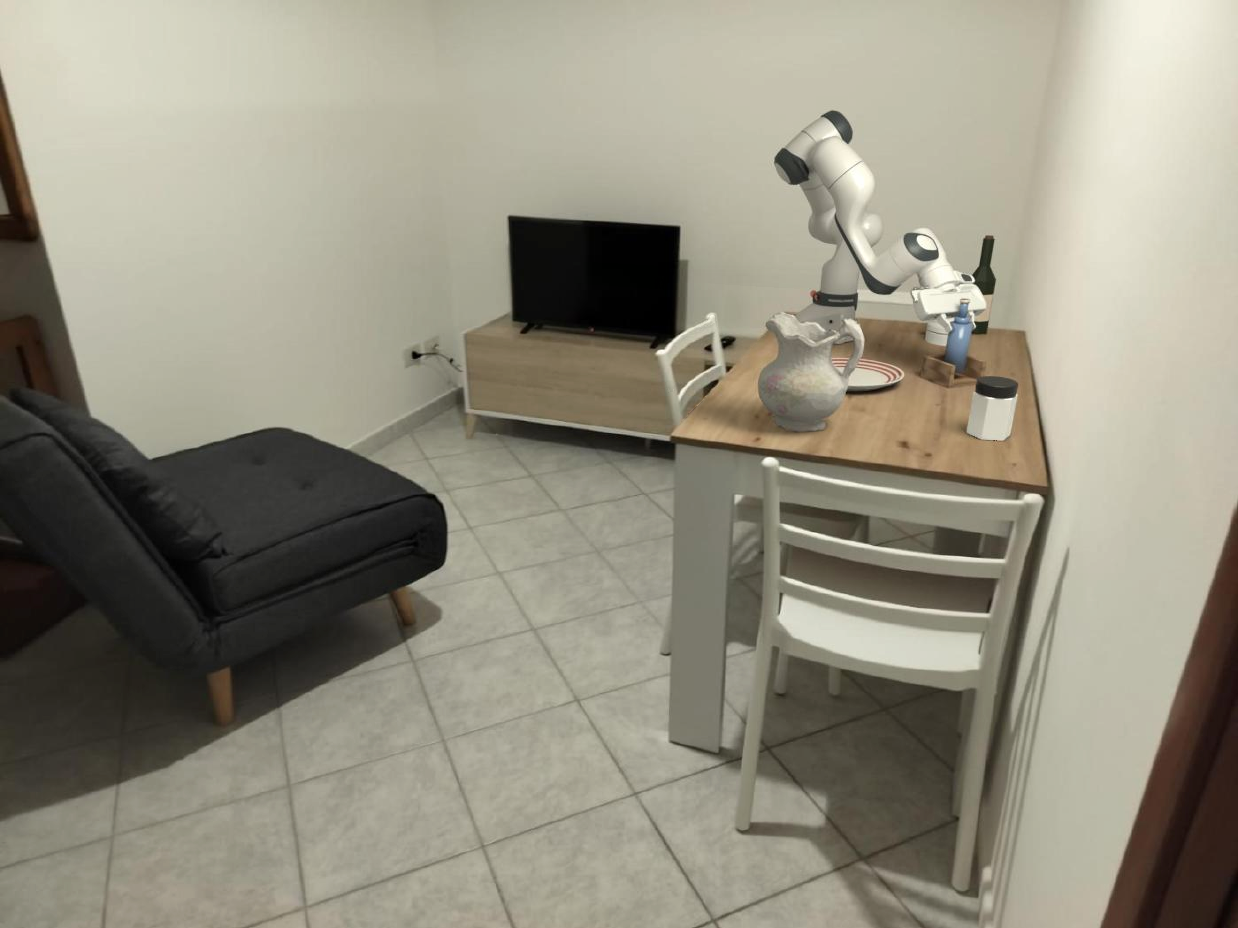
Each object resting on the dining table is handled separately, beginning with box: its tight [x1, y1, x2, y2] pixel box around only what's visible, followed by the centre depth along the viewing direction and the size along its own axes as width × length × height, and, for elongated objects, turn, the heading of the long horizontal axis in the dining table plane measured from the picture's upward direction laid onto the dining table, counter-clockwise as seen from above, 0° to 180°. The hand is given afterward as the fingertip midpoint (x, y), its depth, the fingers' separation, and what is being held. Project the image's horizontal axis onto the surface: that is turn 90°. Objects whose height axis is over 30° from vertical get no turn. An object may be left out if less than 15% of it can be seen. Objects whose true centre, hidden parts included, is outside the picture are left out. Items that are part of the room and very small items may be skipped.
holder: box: [920, 353, 987, 389], centre depth 217 cm, size 10×11×6 cm
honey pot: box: [924, 318, 954, 347], centre depth 253 cm, size 13×13×18 cm
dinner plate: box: [831, 357, 905, 392], centre depth 217 cm, size 27×27×3 cm
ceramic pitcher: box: [757, 311, 865, 433], centre depth 182 cm, size 22×20×25 cm
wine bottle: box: [971, 234, 997, 336], centre depth 262 cm, size 8×8×30 cm
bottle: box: [944, 298, 973, 372], centre depth 212 cm, size 5×5×18 cm
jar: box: [966, 375, 1019, 442], centre depth 178 cm, size 9×8×12 cm
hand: (961, 330), depth 211 cm, fingers closed on bottle, 5 cm apart
